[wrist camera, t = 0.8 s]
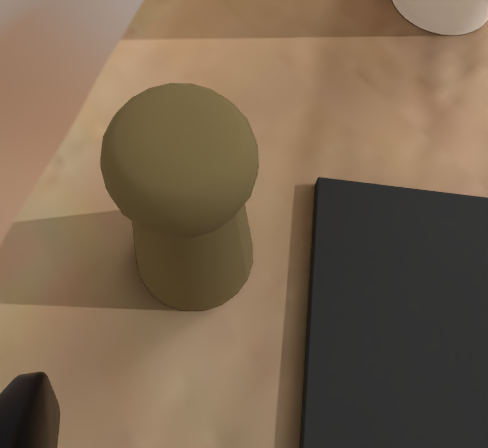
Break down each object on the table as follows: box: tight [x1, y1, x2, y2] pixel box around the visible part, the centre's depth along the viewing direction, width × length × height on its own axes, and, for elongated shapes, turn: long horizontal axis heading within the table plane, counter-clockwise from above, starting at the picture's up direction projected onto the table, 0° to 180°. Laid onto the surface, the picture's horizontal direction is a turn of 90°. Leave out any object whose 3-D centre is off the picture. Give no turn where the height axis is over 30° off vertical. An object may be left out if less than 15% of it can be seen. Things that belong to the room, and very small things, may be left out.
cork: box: [101, 83, 259, 311], centre depth 19 cm, size 6×6×11 cm
